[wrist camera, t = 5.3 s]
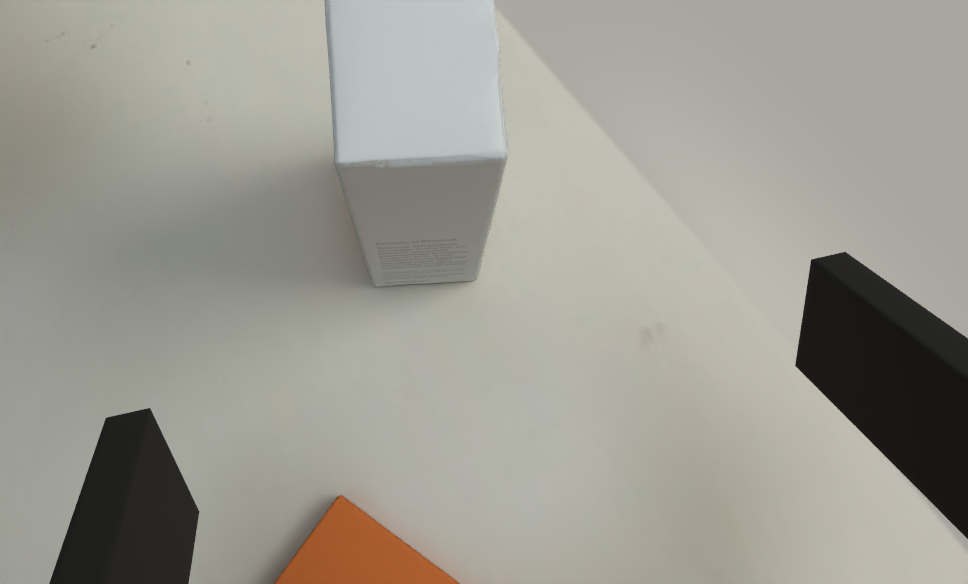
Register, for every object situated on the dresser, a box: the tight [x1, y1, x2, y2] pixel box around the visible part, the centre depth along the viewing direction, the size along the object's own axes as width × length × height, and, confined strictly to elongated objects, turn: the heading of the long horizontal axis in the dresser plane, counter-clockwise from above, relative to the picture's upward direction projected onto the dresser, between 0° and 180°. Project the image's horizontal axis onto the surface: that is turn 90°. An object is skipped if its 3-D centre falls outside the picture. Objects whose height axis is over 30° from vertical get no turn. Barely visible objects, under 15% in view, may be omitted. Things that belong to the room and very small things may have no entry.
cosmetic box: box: [325, 0, 508, 287], centre depth 23 cm, size 6×4×12 cm
